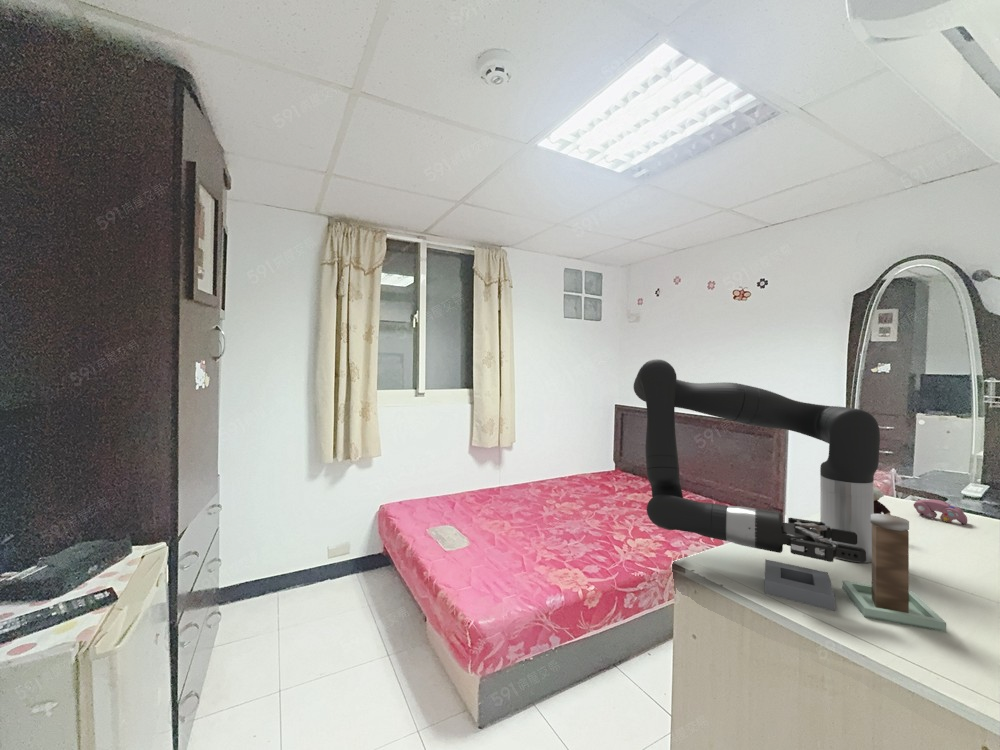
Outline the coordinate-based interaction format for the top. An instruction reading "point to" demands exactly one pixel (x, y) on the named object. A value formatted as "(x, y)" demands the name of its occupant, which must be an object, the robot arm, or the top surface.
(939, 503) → the video game controller
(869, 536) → the robot arm
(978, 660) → the top surface
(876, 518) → the dark wooden pin
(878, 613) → the sage green tray
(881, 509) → the grandmother figurine
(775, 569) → the charcoal holder
